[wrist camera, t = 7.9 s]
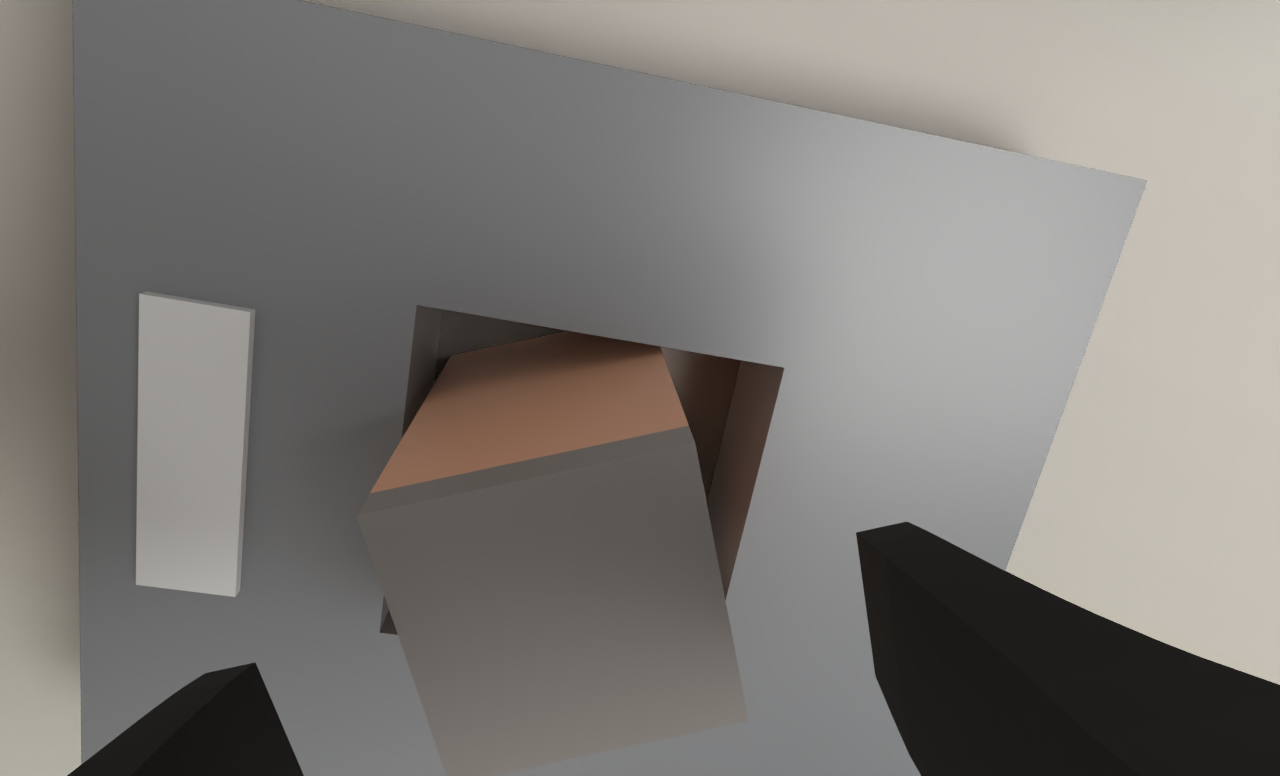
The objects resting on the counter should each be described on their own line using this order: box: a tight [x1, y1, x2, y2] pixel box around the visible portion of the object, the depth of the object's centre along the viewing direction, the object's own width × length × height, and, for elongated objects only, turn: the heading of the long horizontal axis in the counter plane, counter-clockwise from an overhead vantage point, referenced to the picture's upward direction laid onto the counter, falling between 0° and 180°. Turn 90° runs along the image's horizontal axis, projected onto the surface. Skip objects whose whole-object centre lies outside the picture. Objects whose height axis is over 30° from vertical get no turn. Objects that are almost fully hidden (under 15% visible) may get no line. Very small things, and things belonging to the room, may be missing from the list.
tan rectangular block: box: [357, 331, 748, 776], centre depth 13 cm, size 4×4×7 cm
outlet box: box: [73, 0, 1147, 776], centre depth 15 cm, size 14×16×3 cm
